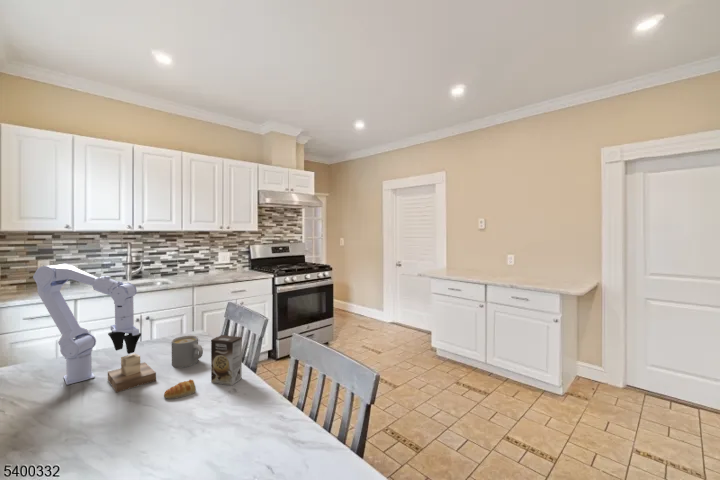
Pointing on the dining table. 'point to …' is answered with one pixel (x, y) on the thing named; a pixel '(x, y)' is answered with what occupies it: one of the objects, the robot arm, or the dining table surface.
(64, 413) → the dining table surface
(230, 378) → the coffee box
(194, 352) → the coffee mug
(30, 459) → the dining table surface
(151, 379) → the walnut base
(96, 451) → the dining table surface
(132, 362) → the beech block
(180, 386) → the pastry
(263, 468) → the dining table surface
